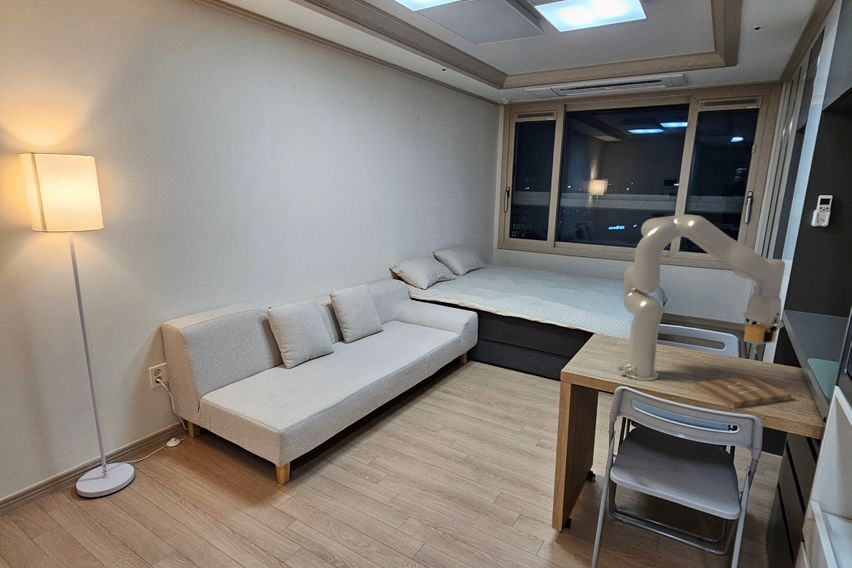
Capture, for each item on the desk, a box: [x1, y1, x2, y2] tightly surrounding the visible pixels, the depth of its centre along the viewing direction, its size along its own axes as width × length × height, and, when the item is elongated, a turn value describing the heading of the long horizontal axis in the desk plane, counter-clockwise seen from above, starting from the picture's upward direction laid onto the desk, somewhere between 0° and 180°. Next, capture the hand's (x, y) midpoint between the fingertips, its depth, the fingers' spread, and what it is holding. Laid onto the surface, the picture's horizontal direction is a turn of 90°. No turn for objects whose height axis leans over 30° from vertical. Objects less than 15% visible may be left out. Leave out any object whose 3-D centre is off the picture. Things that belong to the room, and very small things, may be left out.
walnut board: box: [693, 375, 793, 409], centre depth 156 cm, size 24×16×2 cm, turn 104°
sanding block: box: [743, 323, 778, 346], centre depth 167 cm, size 10×5×6 cm, turn 112°
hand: (759, 338), depth 167 cm, fingers closed on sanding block, 5 cm apart
